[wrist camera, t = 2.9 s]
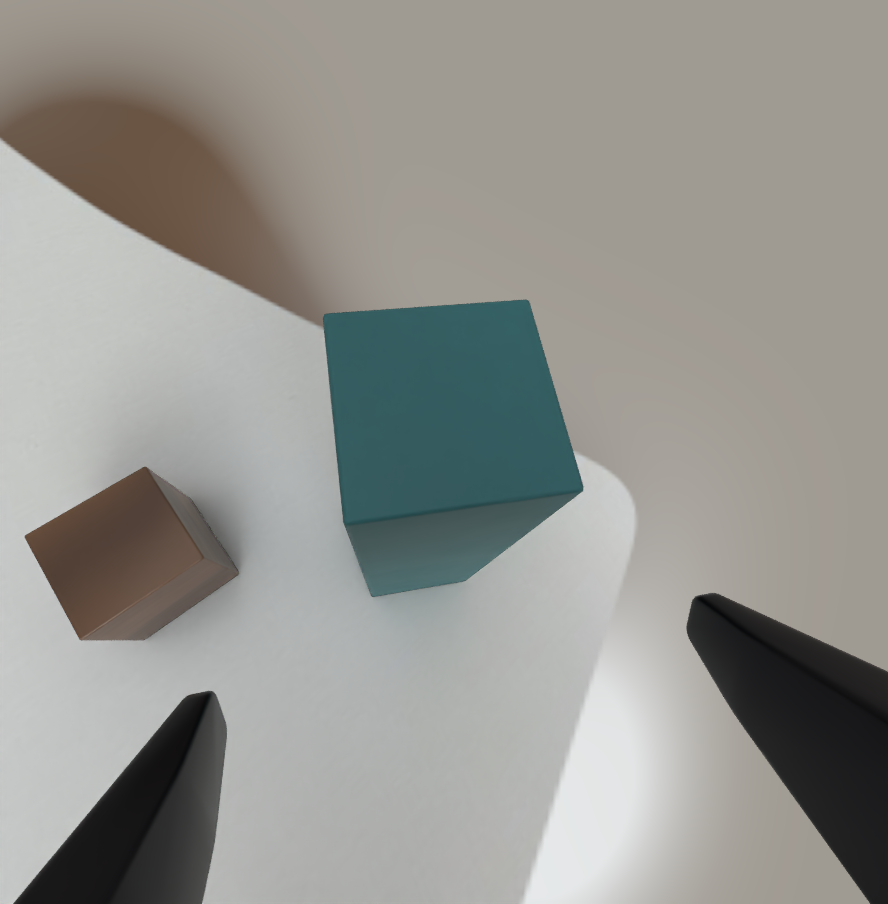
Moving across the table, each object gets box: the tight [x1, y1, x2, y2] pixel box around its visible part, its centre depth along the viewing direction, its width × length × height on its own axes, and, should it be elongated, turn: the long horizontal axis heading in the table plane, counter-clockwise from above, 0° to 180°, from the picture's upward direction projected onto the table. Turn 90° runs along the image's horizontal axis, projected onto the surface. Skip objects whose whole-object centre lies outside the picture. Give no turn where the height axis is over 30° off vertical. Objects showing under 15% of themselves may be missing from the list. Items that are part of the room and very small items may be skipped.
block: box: [25, 467, 239, 640], centre depth 17 cm, size 4×4×4 cm
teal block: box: [323, 300, 583, 597], centre depth 14 cm, size 4×4×13 cm
